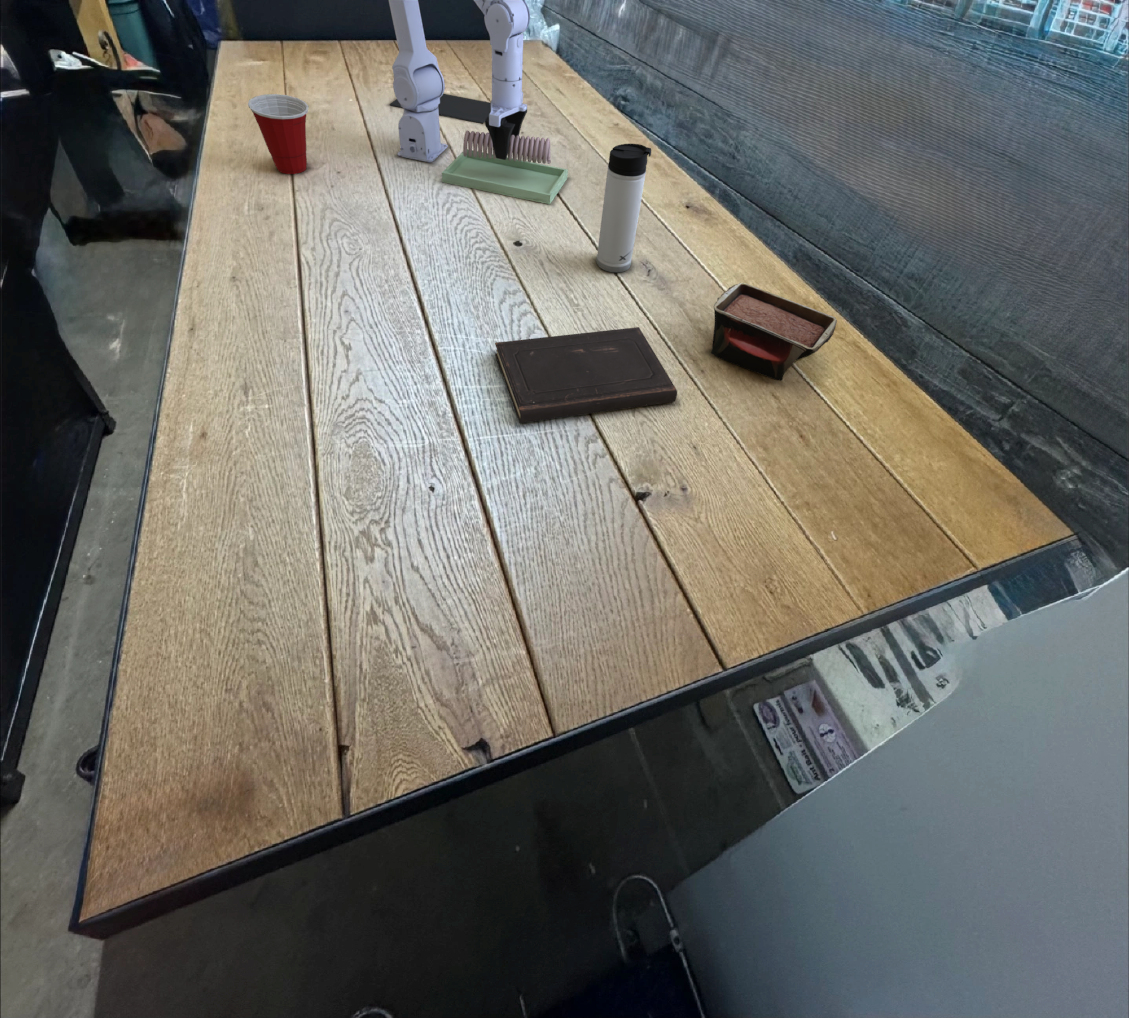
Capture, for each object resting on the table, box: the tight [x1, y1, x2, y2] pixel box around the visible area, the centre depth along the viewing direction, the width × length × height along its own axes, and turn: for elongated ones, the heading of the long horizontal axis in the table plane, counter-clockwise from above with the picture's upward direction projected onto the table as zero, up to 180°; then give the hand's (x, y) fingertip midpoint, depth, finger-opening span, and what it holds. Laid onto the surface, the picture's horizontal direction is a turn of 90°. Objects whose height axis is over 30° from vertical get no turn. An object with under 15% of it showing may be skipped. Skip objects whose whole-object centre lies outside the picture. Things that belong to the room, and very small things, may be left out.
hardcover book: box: [494, 326, 678, 424], centre depth 95 cm, size 16×23×2 cm
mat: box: [389, 93, 491, 125], centre depth 161 cm, size 13×24×1 cm, turn 74°
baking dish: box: [710, 282, 838, 381], centre depth 101 cm, size 14×18×10 cm
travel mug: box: [595, 143, 652, 273], centre depth 111 cm, size 6×7×20 cm
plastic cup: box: [247, 93, 309, 175], centre depth 128 cm, size 11×11×12 cm
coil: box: [462, 130, 552, 165], centre depth 132 cm, size 5×5×18 cm
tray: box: [441, 148, 569, 205], centre depth 136 cm, size 13×23×2 cm, turn 74°
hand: (506, 152), depth 133 cm, fingers closed on coil, 5 cm apart
